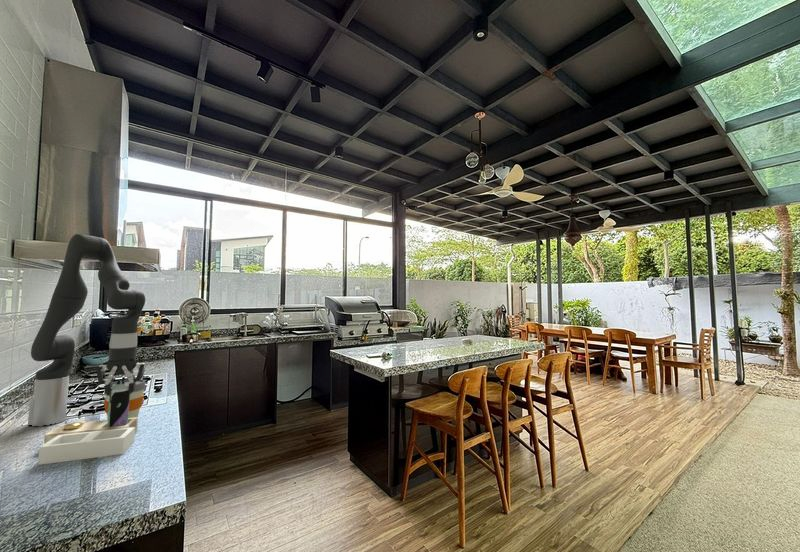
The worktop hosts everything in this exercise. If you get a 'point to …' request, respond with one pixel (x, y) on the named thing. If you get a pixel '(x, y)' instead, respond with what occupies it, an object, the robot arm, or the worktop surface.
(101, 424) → the socket block
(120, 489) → the worktop surface
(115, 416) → the spray can
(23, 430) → the worktop surface
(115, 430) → the frame
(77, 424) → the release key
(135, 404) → the reusable coffee cup
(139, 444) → the worktop surface
